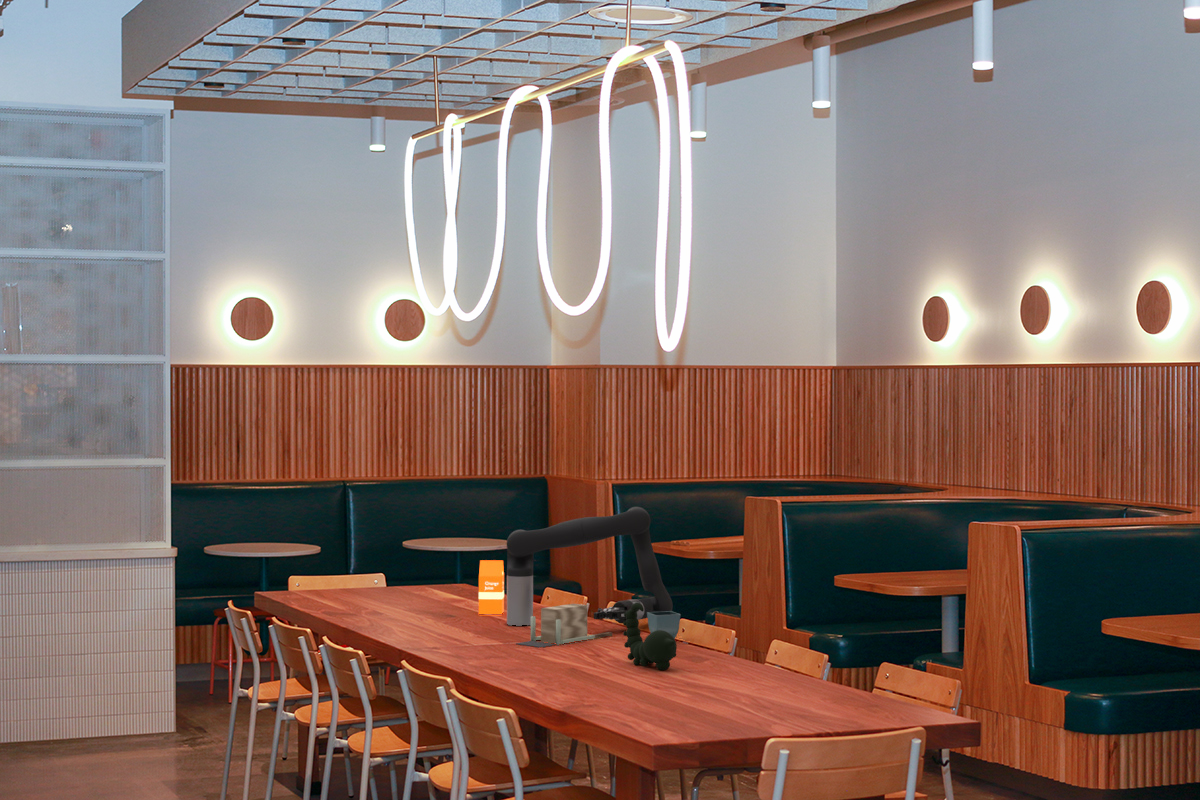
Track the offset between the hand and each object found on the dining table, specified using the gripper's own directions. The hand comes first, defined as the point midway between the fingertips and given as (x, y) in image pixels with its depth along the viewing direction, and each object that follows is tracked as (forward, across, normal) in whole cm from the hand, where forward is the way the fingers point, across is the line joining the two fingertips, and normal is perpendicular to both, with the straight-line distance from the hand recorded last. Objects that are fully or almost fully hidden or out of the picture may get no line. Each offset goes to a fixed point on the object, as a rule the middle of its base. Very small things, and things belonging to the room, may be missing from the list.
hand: (595, 616), depth 459 cm
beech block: (+16, 0, +6) cm, 17 cm away
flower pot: (-5, +25, +6) cm, 26 cm away
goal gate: (+17, 0, +6) cm, 18 cm away
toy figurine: (+36, +53, +6) cm, 65 cm away
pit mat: (+29, 0, +6) cm, 30 cm away
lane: (+3, 0, +6) cm, 7 cm away
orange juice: (-14, -64, +6) cm, 65 cm away
